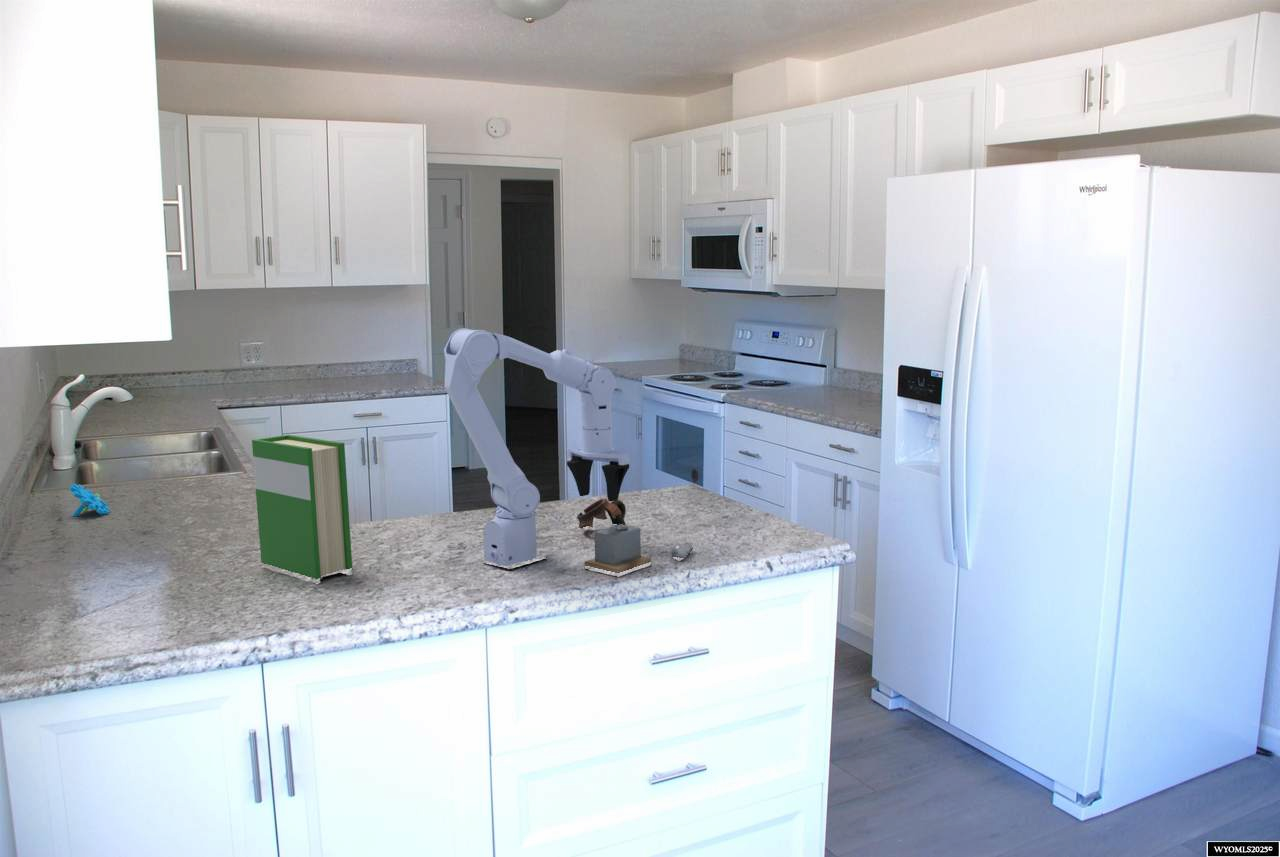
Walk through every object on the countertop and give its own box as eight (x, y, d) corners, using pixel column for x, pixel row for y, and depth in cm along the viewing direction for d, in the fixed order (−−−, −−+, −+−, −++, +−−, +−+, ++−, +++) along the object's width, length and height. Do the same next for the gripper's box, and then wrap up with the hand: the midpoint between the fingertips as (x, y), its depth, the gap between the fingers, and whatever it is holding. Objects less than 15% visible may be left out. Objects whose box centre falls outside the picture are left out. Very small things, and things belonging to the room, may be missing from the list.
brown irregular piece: (618, 544, 200) (596, 509, 199) (585, 558, 205) (564, 524, 204) (645, 516, 210) (624, 483, 209) (613, 530, 215) (592, 498, 214)
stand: (617, 577, 176) (617, 569, 175) (584, 569, 181) (584, 561, 181) (651, 565, 182) (650, 557, 182) (618, 558, 188) (618, 550, 187)
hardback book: (352, 574, 181) (344, 442, 177) (316, 584, 175) (307, 448, 171) (297, 559, 192) (288, 434, 188) (261, 568, 186) (251, 440, 182)
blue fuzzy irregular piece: (103, 512, 228) (67, 482, 226) (84, 531, 227) (48, 502, 226) (119, 508, 239) (85, 480, 237) (101, 526, 238) (67, 498, 237)
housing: (614, 566, 177) (614, 534, 176) (595, 561, 180) (594, 530, 179) (640, 557, 182) (640, 526, 182) (621, 553, 186) (620, 522, 185)
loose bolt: (685, 562, 184) (685, 547, 184) (671, 560, 185) (671, 546, 185) (695, 553, 190) (695, 539, 189) (681, 552, 191) (681, 538, 190)
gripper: (639, 428, 190) (640, 498, 192) (584, 422, 200) (585, 489, 202) (614, 433, 185) (615, 505, 187) (558, 426, 194) (560, 495, 196)
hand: (598, 497), depth 194 cm, fingers open, 7 cm apart
